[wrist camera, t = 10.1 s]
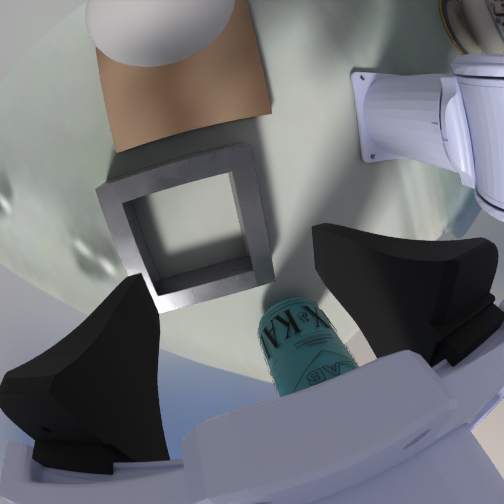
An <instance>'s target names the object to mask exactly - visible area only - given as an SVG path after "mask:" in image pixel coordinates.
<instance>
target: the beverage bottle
mask: <svg viewBox="0 0 504 504" xmlns="http://www.w3.org/2000/svg"><path fill="white" fill-rule="evenodd" d="M314 303H315V302H314ZM314 303H313V301H310V300H308V299H305V298H301V297H293V298H288V299H284V300H282V301H280V302H278V303H276V304H274V305H273V306H272V307H270V308H269V309H268V310H267V311H266V312H265V314H264V315H263V316H262V318H261V320H260V323H259V328H258V329H259V330H258V334H259V337H258V338H260V341H261V343H260V345H261V344H262V347H263V349H261V350H264V352H262V353H265V354H264V355H265V356H266V359H267V361H268V364H269V367H270V370H271V371H270V372H271V373H272V374H271V373H270V372H269V373H270V374H271V375H272V377H273V378H274V381H275V384H276V387H277V390H278V392H279V395H280V397H282V396H286V395H289V394H292V393H295V392H298V391H300V390H303V389H306V388H309V387H312V386H314V385H317V384H320V383H322V382H325V381H327V380H330V379H333V378H335V377H337V376H340V375H342V374H345V373H347V372H349V371H352V370H354V369H356V368H358V365H357V363H356V362H355V361H354V359H353V358H352V356H351V355H350V353H349V352H348V350H347V348H346V347H345V346H344V344H343V343H342V341H341V340H340V338H339V337H338V335H337V334H336V332H335V331H334V329H335V328H334V329H333V328H332V326H333V325H332V324H331V325H332V326H331V325H330V323H331V322H330V321H329V319H328V318H327V317H326V315H325V313H324V312H323V311H322V310H320V309H319V307H318V306H317V305H318V304H317V305H316V304H314ZM323 314H324V315H323ZM325 317H326V318H325ZM327 320H328V321H327ZM329 322H330V323H329ZM333 327H334V326H333ZM335 330H336V329H335ZM336 331H337V330H336ZM258 334H257V336H258ZM260 347H261V346H260ZM262 347H261V348H262ZM264 355H263V356H264ZM264 359H265V358H264ZM266 359H265V360H266ZM266 363H267V362H266ZM272 382H273V381H272ZM273 383H274V382H273Z"/></svg>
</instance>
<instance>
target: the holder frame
mask: <svg viewBox="0 0 504 504" xmlns="http://www.w3.org/2000/svg"><path fill="white" fill-rule="evenodd" d="M227 172H228V174H229V178H230V183H231V187H232V192H233V196H234V201H235V205H236V210H237V214H238V219H239V223H240V228H241V232H242V237H243V241H244V246H245V250H246V255H247V256H245V257H241V258H238V259H234V260H230V261H227V262H223V263H219V264H216V265H212V266H209V267H205V268H201V269H198V270H194V271H190V272H187V273H183V274H179V275H176V276H172V277H169V278H165V279H161V280H160V279H159V276H158V274H157V271H156V269H155V266H154V264H153V261H152V258H151V256H150V253H149V251H148V248H147V245H146V243H145V240H144V237H143V234H142V231H141V229H140V226H139V223H138V220H137V217H136V214H135V211H134V208H133V205H132V202H131V200H133V199H136V198H139V197H142V196H145V195H148V194H151V193H155V192H158V191H161V190H165V189H168V188H171V187H175V186H178V185H182V184H185V183H189V182H192V181H196V180H200V179H204V178H207V177H211V176H215V175H219V174H223V173H227ZM95 190H96V193H97V196H98V199H99V202H100V205H101V208H102V211H103V214H104V217H105V219H106V222H107V225H108V228H109V230H110V233H111V235H112V238H113V241H114V243H115V246H116V248H117V251H118V253H119V255H120V258H121V260H122V262H123V265H124V267H125V269H126V272H127V274H128V276H131V275H134V274H138V273H142V275H143V278H144V280H145V282H146V285H147V287H148V289H149V291H150V294H151V296H152V298H153V300H154V302H155V305H156V307H157V309H158V311H159V313H162V312H166V311H170V310H174V309H178V308H182V307H186V306H189V305H193V304H197V303H201V302H204V301H208V300H212V299H215V298H219V297H223V296H226V295H230V294H233V293H237V292H241V291H244V290H248V289H251V288H255V287H258V286H261V285H265V284H268V283H272V282H275V281H276V280H275V275H274V269H273V263H272V258H271V252H270V246H269V241H268V235H267V230H266V224H265V219H264V213H263V208H262V202H261V197H260V192H259V187H258V181H257V176H256V171H255V166H254V161H253V155H252V150H251V145H250V144H248V143H243V142H242V143H238V144H233V145H229V146H224V147H220V148H216V149H212V150H207V151H203V152H200V153H196V154H192V155H188V156H185V157H181V158H177V159H174V160H170V161H167V162H164V163H160V164H157V165H154V166H151V167H148V168H144V169H141V170H138V171H135V172H132V173H129V174H127V175H124V176H121V177H118V178H115V179H113V180H110V181H107V182H105V183H104V184H102V185H101V186H99V187H98V188H96V189H95Z"/></svg>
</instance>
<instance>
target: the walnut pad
mask: <svg viewBox="0 0 504 504" xmlns="http://www.w3.org/2000/svg"><path fill="white" fill-rule="evenodd" d="M96 53H97V60H98V67H99V73H100V79H101V85H102V90H103V95H104V101H105V105H106V110H107V115H108V119H109V124H110V128H111V132H112V136H113V140H114V144H115V148H116V152H117V153H119V152H122V151H125V150H128V149H131V148H133V147H136V146H139V145H142V144H145V143H149V142H152V141H155V140H158V139H161V138H165V137H168V136H172V135H175V134H179V133H183V132H186V131H190V130H194V129H198V128H202V127H206V126H210V125H215V124H219V123H224V122H229V121H234V120H239V119H244V118H249V117H255V116H261V115H267V114H272V111H271V105H270V100H269V95H268V90H267V86H266V81H265V76H264V71H263V67H262V62H261V57H260V53H259V49H258V44H257V40H256V36H255V31H254V27H253V23H252V19H251V15H250V11H249V7H248V3H247V0H235V3H234V9H233V12H232V14H231V16H230V19H229V21H228V23H227V25H226V26H225V28H224V29H223V31H222V32H221V34H220V35H218V36H217V37H216V38H215V39H214V41H213V42H212V43H210V44H209V45H207V46H206V47H205V48H203V49H202V50H201V51H199V52H197V53H196V54H194V55H192V56H190V57H188V58H186V59H184V60H181V61H178V62H175V63H172V64H167V65H162V66H153V67H141V66H131V65H127V64H123V63H120V62H117V61H115V60H113V59H111V58H109V57H107V56H106V55H105V54H104V53H103V52H102V51H100V50H99V49H98V48H97V47H96Z"/></svg>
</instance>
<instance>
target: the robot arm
mask: <svg viewBox="0 0 504 504" xmlns="http://www.w3.org/2000/svg"><path fill="white" fill-rule="evenodd" d="M451 69H452V72H453V73H441V74H421V75H408V76H403V75H394V74H384V73H371V72H353V73H352V74H351V82H352V88H353V93H354V99H355V106H356V113H357V120H358V128H359V136H360V145H361V156H362V160H363V161H364V162H366V163H372V162H378V161H385V160H392V159H400V158H408V159H412V160H416V161H420V162H423V163H427V164H431V165H434V166H437V167H441V168H444V169H447V170H450V171H453V172H456V173H459V174H460V176H461V181H462V184H463V185H466V186H469V187H471V188H474V189H475V197H476V200H477V202H478V204H479V205H480V206H481V207H482V208H483V209H484V210H485V211H486V212H487V213H489V214H490V215H492V216H493V217H495V218H496V219H498V220H500V221H503V222H504V54H466V55H458V56H456V57H455V59H454V62H453V63H451ZM360 75H361V76H362V78H363V79H362V80H361V78H360ZM371 155H373V157H372V159H371ZM312 236H313V247H314V259H315V269H316V271H317V272H318V274H319V276H320V277H321V279H322V281H323V282H324V284H325V285H326V287H327V288H328V289H329V290H330V292H331V293H332V294H333V295H334V296H335V298H336V299H337V300H338V301H339V302H340V304H341V305H342V306H343V307H344V308H345V310H346V311H347V312H348V313H349V315H350V316H351V317H352V318H353V320H354V321H355V322H356V324H357V325H358V326H359V328H360V330H361V331H362V333H363V334H364V336H365V338H366V339H367V341H368V343H369V345H370V346H371V348H372V350H373V352H374V354H375V355H376V357H377V359H376V360H374V361H371V362H369V363H367V364H365V365H363V366H361V367H358V368H356V369H354V370H352V371H349V372H347V373H345V374H342V375H340V376H337V377H335V378H333V379H330V380H327V381H325V382H322V383H320V384H317V385H314V386H312V387H309V388H306V389H303V390H300V391H298V392H295V393H292V394H289V395H286V396H282V397H279V398H276V399H273V400H270V401H266V402H263V403H259V404H256V405H252V406H248V407H244V408H241V409H237V410H233V411H229V412H226V413H224V414H221V415H218V416H216V417H213V418H210V419H207V420H204V421H201V422H200V423H199V424H197V425H196V426H195V427H194V428H193V429H192V430H191V431H190V432H189V433H188V434H187V435H185V436H184V437H183V438H182V439H181V446H182V455H183V459H178V460H170V457H169V454H168V450H167V446H166V441H165V436H164V431H163V426H162V420H161V413H160V407H159V398H158V386H157V373H158V355H159V341H160V320H159V311H158V309H157V307H156V305H155V302H154V300H153V298H152V296H151V294H150V291H149V289H148V287H147V285H146V282H145V280H144V278H143V275H142V273H138V274H134V275H131V276H128V277H126V278H125V279H124V280H123V281H122V282H121V283H120V284H119V285H118V286H117V287H116V288H115V289H114V290H113V291H112V292H111V293H110V294H109V296H108V297H107V298H106V299H105V300H104V301H103V302H102V303H101V304H100V305H99V306H98V307H97V308H96V309H95V310H94V311H93V312H92V313H91V314H90V316H89V317H88V318H87V319H86V320H85V321H83V322H82V323H81V324H80V325H79V326H78V327H77V328H76V329H74V330H73V331H72V332H71V333H70V334H69V335H67V336H66V337H65V338H63V339H62V340H61V341H59V342H58V343H57V344H56V345H54V346H53V347H51V348H50V349H48V350H47V351H45V352H44V353H42V354H41V355H39V356H37V357H35V358H34V359H32V360H30V361H28V362H27V363H25V364H23V365H21V366H19V367H17V368H15V369H13V370H11V371H8V372H7V373H6V374H5V375H4V378H3V380H2V382H1V385H0V408H1V409H2V411H3V412H4V413H5V414H6V416H7V417H8V418H9V419H10V420H11V421H13V422H14V423H15V424H16V425H17V426H18V427H19V428H20V429H22V430H23V431H24V432H25V433H26V434H28V435H29V436H30V437H31V438H33V439H34V440H35V445H34V447H32V446H30V445H27V444H24V443H18V442H14V441H8V444H7V448H6V453H5V458H4V463H3V469H2V475H1V482H0V497H2V498H4V499H5V500H7V501H9V502H11V503H13V504H504V479H503V478H502V476H501V475H500V473H499V472H498V470H497V469H496V467H495V466H494V464H493V463H492V461H491V460H490V458H489V457H488V455H487V454H486V452H485V451H484V450H483V448H482V447H481V445H480V444H479V442H478V441H477V440H476V438H475V437H474V435H473V434H472V433H471V430H472V429H474V428H475V427H476V426H477V425H478V424H479V423H480V422H481V421H482V420H483V419H484V418H485V417H486V416H487V415H488V414H489V413H490V412H491V411H492V410H493V409H494V408H495V406H496V405H497V404H498V403H499V402H500V401H501V400H502V399H503V398H504V300H503V301H502V302H501V304H500V305H499V307H497V306H496V305H495V304H493V302H494V301H495V296H494V295H492V294H491V293H490V289H491V286H492V283H493V279H494V276H495V273H496V269H497V264H498V250H497V247H496V245H495V244H494V243H492V242H491V241H489V240H487V239H485V238H481V237H480V238H472V239H464V240H451V241H425V240H410V239H402V238H394V237H388V236H383V235H378V234H373V233H369V232H364V231H360V230H356V229H352V228H348V227H344V226H340V225H335V224H329V223H323V224H319V225H316V226H312Z"/></svg>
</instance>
